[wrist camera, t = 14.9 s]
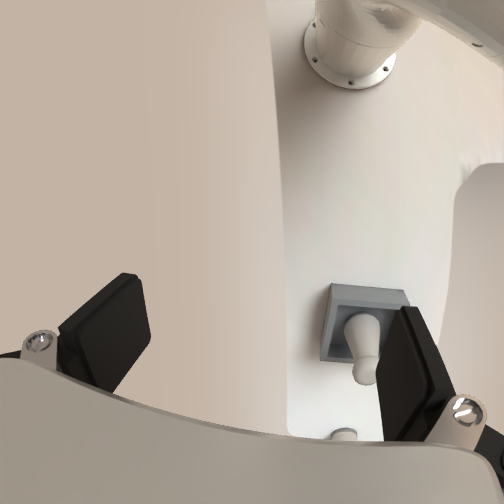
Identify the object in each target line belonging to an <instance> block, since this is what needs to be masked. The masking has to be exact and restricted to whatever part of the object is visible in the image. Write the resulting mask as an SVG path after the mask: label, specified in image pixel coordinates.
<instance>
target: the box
mask: <svg viewBox="0 0 504 504" xmlns="http://www.w3.org/2000/svg"><path fill="white" fill-rule="evenodd" d="M402 306H410V303H409V301H408V299H407V297H406V295H405V293H404V291H403V290H397V289H386V288H375V287H364V286H353V285H343V284H333V283H331V288H330V294H329V300H328V306H327V311H326V317H325V322H324V327H323V332H322V337H321V342H320V361H329V362H342V363H355V361H354V358H353V355H352V353H351V350H350V347H349V345H348V343H347V340H346V338H345V334H344V328H345V324H346V323H347V321H348V320H349V319H350V318H351V316H352V314H354V313H357V312H361V311H364V312H366V313H368V314H370V315H373V316H374V317H375V318H376V319H377V320H378V321H379V325H380V339H379V353H378V358H380V355H381V353H382V350H383V347H384V344H385V341H386V338H387V335H388V332H389V329H390V326H391V323H392V319H393V316H394V313H395V311H396V310H400V308H401V307H402Z"/></svg>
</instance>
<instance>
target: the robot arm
mask: <svg viewBox="0 0 504 504" xmlns="http://www.w3.org/2000/svg"><path fill="white" fill-rule="evenodd" d="M315 15H316V17H315V18H314V19H313V20H312V21H311V23H310V24H309V26H308V27H307V30H306V32H305V36H304V49H305V53H306V56H307V59H308V61H309V63H310V64H311V66H312V67H313V69H314V70H315V71H316V72H317V73H318V74H319V75H320V76H321V77H323V78H324V79H325V80H327V81H329V82H330V83H332V84H334V85H337V86H340V87H343V88H348V89H365V88H370V87H372V86H375V85H377V84H379V83H380V82H382V81H383V80H384V79H385V78H386V77H387V76H388V75H389V74H390V73H391V71H392V69H393V67H394V64H395V59H396V51H397V50H398V49H399V48H400V47H401V46H402V45H403V44H404V43H405V42H406V41H407V40H408V39H409V38H410V37H411V36H412V35H413V34H414V33H415V32H416V30H417V29H418V28H419V26H420V24H421V20H422V19H423V20H425V21H429V22H431V23H433V24H435V25H436V26H438V27H440V28H442V29H443V30H445V31H447V32H448V33H450V34H452V35H453V36H455V37H456V38H458V39H460V40H461V41H463V42H464V43H466V44H467V45H469V46H470V47H472V48H473V49H475V50H476V51H477V52H479V53H480V54H482V55H483V56H484V57H486V58H487V59H489V60H490V61H491V62H493V63H494V64H496V65H497V66H499V67H500V68H501V69H503V70H504V0H315ZM314 26H316V28H314ZM314 60H316V61H317V62H316V63H314V62H313V61H314ZM383 69H385V70H386V72H384V71H383ZM349 82H351V83H352V85H349ZM58 329H59V332H60V335H59V336H58V337H57V335H56V334H55V333H54V332H52V331H50V330H40V331H37V332H34V333H32V334H30V335H29V336H28V337H27V338H26V339H25V340H24V342H23V345H22V350H20V351H15V352H10V353H5V354H1V355H0V504H504V435H502V434H500V433H499V432H497V431H496V430H494V429H492V428H491V427H489V426H487V425H486V424H485V423H486V420H487V413H486V409H485V407H484V405H483V404H482V403H481V402H480V401H479V400H478V399H476V398H475V397H472V396H470V395H464V394H462V395H457V396H456V393H455V390H454V388H453V385H452V383H451V380H450V377H449V375H448V372H447V370H446V367H445V365H444V363H443V360H442V358H441V355H440V353H439V351H438V348H437V346H436V345H435V343H434V341H433V339H432V337H431V334H430V332H429V330H428V328H427V326H426V324H425V321H424V319H423V317H422V315H421V313H420V311H419V309H418V307H413V306H402V307H401V308H400V310H396V311H395V313H394V316H393V319H392V323H391V326H390V329H389V332H388V335H387V338H386V341H385V344H384V347H383V350H382V353H381V355H380V358H379V361H378V364H377V367H376V372H375V376H376V382H377V389H378V396H379V403H380V410H381V418H382V427H383V436H384V441H345V440H326V439H313V438H302V437H293V436H284V435H276V434H270V433H262V432H257V431H251V430H245V429H239V428H234V427H229V426H224V425H219V424H214V423H210V422H206V421H201V420H197V419H193V418H189V417H185V416H181V415H178V414H174V413H171V412H167V411H163V410H160V409H157V408H154V407H150V406H147V405H144V404H141V403H138V402H135V401H132V400H129V399H126V398H123V397H120V396H117V395H115V394H112V393H113V392H114V390H115V389H116V388H117V386H118V385H119V384H120V382H121V381H122V379H123V378H124V377H125V375H126V374H127V372H128V371H129V370H130V368H131V367H132V366H133V364H134V363H135V362H136V360H137V359H138V357H139V356H140V355H141V353H142V352H143V351H144V350H145V348H146V347H147V346H148V344H149V342H150V339H151V333H150V328H149V323H148V317H147V312H146V306H145V300H144V294H143V288H142V282H141V280H140V279H138V276H137V275H135V274H129V273H121V274H120V275H119V276H117V277H116V278H115V279H114V280H112V281H111V282H110V283H109V284H108V285H106V286H105V287H104V288H103V289H102V290H100V291H99V292H98V293H97V294H96V295H94V296H93V297H92V298H91V299H90V300H89V301H87V302H86V303H85V304H84V305H83V306H82V307H80V308H79V309H78V310H77V311H76V312H75V313H73V314H72V315H71V316H70V317H69V318H68V319H67V320H65V321H64V322H63V323H62V324H61V325H60V326H59V327H58Z"/></svg>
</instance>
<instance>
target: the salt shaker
mask: <svg viewBox="0 0 504 504" xmlns="http://www.w3.org/2000/svg"><path fill="white" fill-rule="evenodd" d="M344 334H345V338H346V340H347V343H348V345H349V347H350V350H351V353H352V355H353V358H354V361H355V364H354V367H353V369H352V373H353V376H354V379H355V381H356V382H357V383H358V384H361V385H365V386H366V385H372V384H375V383H377V382H376V376H375V372H376V367H377V364H378V361H379V358H378V353H379V339H380V325H379V321H378V320H377V319H376V318H375V317H374V316H373V315H370V314H368V313H366V312H364V311H361V312H357V313H354V314H352V316H351V318H350V319H349V320H348V321H347V323H346V324H345V328H344Z"/></svg>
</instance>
